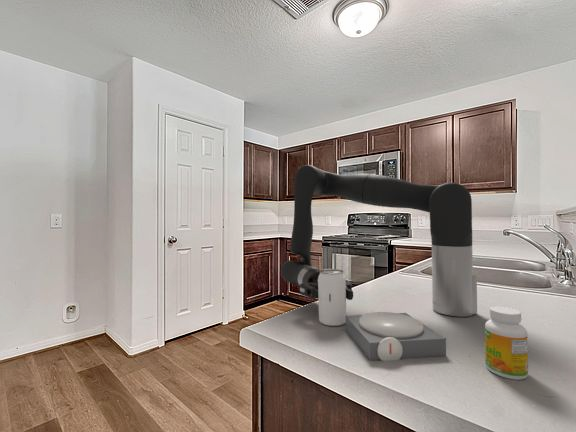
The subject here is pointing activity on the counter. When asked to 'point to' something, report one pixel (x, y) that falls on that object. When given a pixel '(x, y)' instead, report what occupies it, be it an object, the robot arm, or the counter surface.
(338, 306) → the can
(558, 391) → the counter surface
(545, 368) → the counter surface
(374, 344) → the scale
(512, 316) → the supplement bottle
